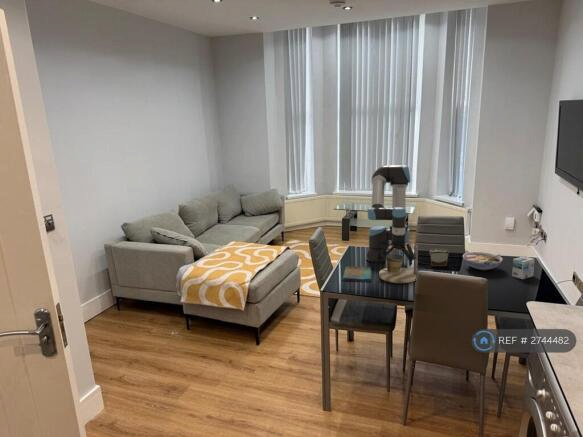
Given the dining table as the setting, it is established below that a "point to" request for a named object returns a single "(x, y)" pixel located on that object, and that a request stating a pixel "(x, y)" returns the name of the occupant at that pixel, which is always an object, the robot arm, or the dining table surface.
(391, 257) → the ceramic cup
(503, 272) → the dining table surface
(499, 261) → the ramen bowl
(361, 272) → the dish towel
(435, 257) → the food container
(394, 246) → the robot arm
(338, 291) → the dining table surface
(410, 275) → the turntable
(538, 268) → the dining table surface
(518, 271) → the light bulb box
